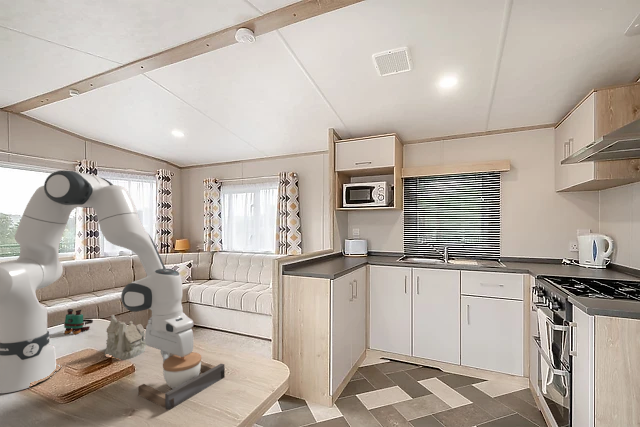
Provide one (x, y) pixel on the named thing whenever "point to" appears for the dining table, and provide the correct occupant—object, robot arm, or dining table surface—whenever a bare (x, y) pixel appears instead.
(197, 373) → the lidded jar
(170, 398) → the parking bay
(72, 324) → the binoculars
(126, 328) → the ceramic cottage
